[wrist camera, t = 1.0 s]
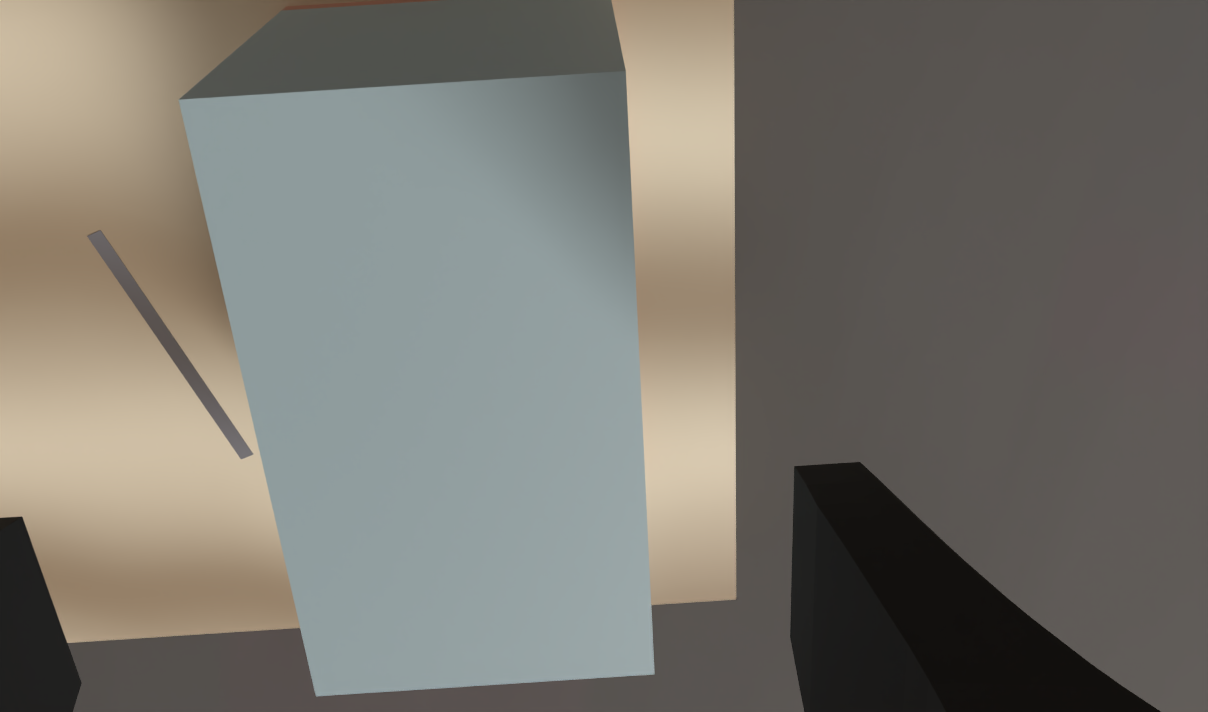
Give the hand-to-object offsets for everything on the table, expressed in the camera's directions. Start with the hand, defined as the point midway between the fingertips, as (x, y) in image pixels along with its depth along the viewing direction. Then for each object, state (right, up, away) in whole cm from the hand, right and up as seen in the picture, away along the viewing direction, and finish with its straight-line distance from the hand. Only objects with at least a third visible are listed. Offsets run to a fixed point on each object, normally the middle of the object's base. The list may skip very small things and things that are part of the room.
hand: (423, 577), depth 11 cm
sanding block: (0, +4, +7) cm, 8 cm away
